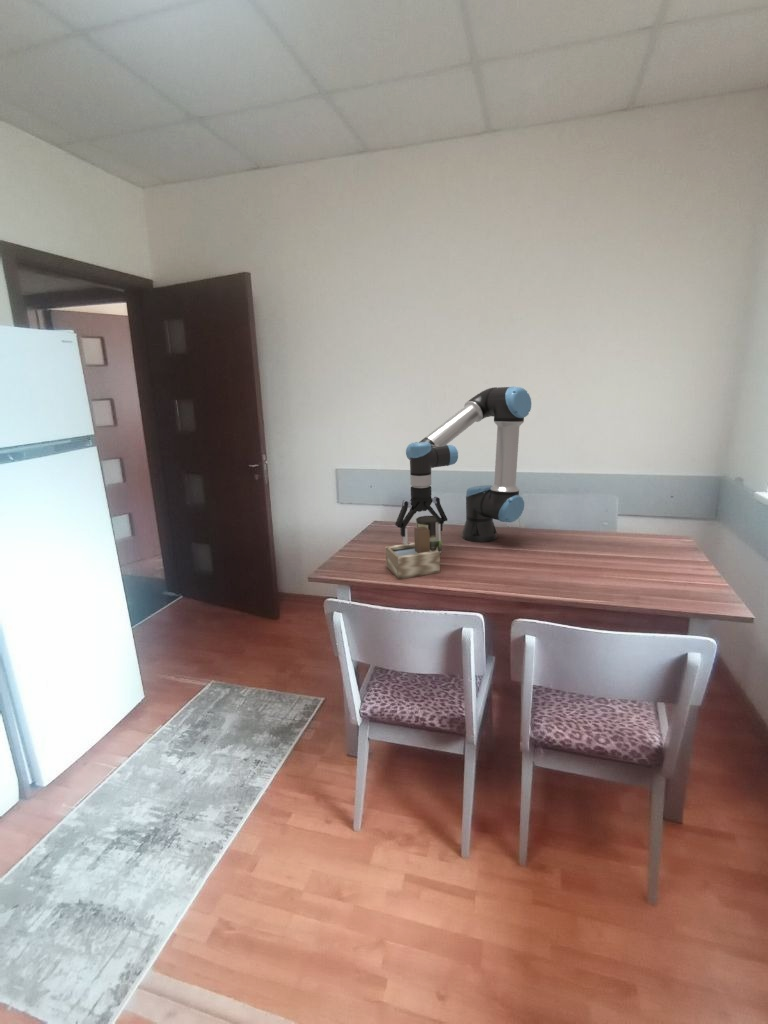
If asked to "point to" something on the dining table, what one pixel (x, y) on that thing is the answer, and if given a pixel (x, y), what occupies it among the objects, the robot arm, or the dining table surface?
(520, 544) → the dining table surface
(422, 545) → the lid
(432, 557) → the box
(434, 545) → the coffee can
